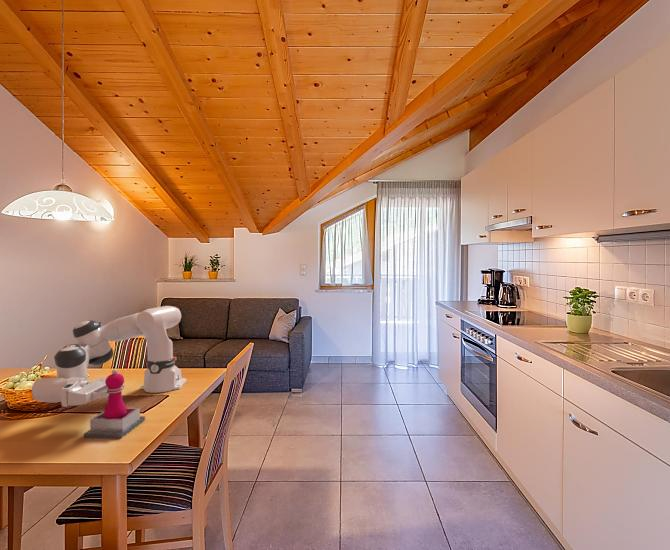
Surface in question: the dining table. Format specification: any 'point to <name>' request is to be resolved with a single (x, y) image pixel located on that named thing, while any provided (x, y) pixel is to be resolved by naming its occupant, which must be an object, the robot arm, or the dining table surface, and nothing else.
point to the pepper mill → (115, 397)
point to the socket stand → (114, 425)
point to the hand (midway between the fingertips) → (115, 390)
